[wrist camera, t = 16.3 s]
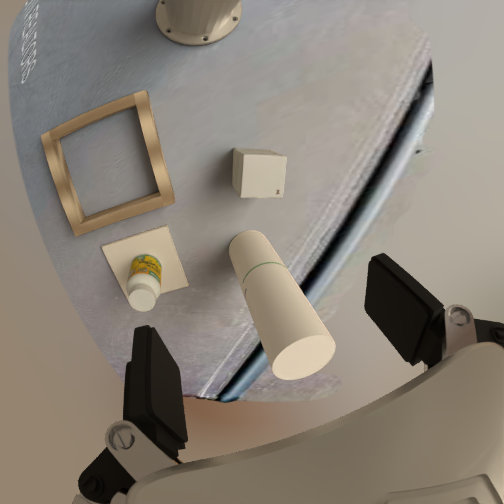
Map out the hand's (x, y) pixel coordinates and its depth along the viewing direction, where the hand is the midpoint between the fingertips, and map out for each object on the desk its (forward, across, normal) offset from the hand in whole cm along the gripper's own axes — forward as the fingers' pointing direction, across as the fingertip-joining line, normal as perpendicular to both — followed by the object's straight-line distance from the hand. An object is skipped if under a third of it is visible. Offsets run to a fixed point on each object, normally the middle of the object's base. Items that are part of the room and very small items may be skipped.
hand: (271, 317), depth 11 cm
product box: (+34, -7, +2) cm, 34 cm away
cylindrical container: (+33, -4, +16) cm, 37 cm away
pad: (+33, +14, +14) cm, 38 cm away
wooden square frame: (+33, +14, -5) cm, 36 cm away
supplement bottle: (+33, +14, +13) cm, 38 cm away
